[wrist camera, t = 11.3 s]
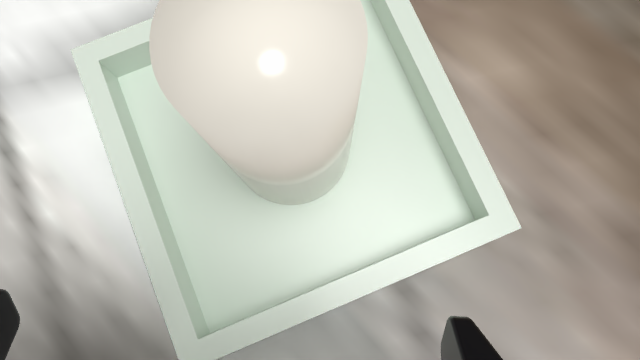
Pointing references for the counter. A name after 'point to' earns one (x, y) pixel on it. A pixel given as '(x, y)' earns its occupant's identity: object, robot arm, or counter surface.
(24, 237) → the counter surface
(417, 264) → the tray
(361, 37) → the canister
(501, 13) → the counter surface
